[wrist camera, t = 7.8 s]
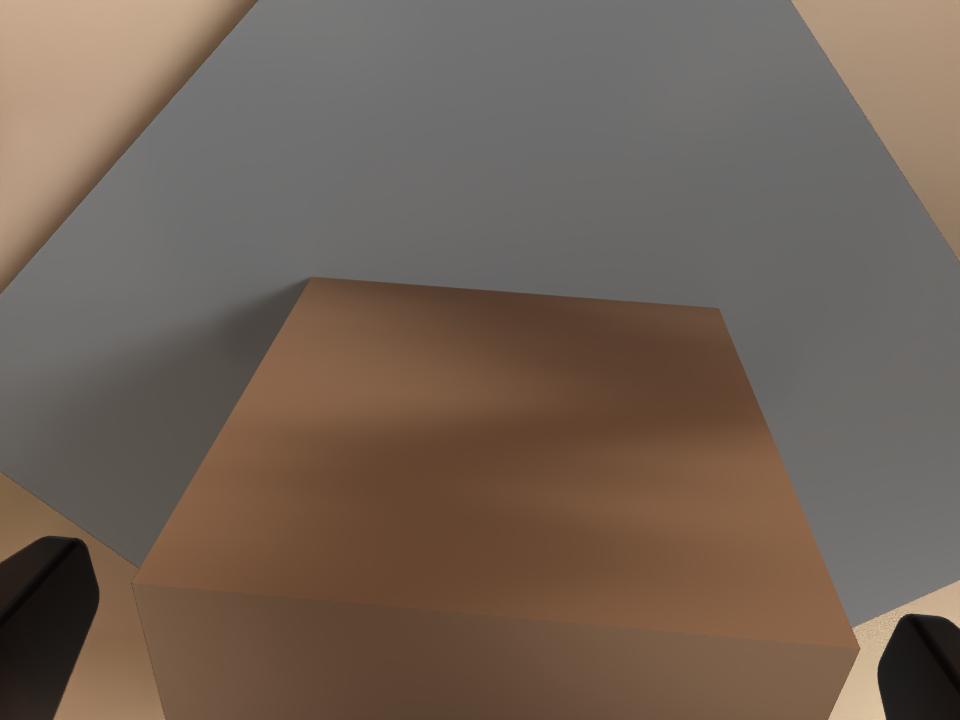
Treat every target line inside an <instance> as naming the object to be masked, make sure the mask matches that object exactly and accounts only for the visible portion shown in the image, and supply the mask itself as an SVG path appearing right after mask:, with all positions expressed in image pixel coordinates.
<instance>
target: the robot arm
mask: <svg viewBox="0 0 960 720" xmlns="http://www.w3.org/2000/svg"><path fill="white" fill-rule="evenodd" d="M98 604H99V587H98V583H97V580H96V576H95V573H94V569H93V566H92V562H91V558H90V555H89V551H88V548H87V546H86V544H85V543H84V542H83V541H82V540H81V539H78V538H69V537H58V536H46V537H43V538H40V539H38V540H36V541H35V542H33V543H31V544H30V545H28V546H27V547H25V548H23V549H22V550H20V551H18V552H17V553H15V554H14V555H12V556H10V557H9V558H7V559H6V560H4V561H2V562H1V563H0V720H54V717H55V715H56V712H57V710H58V707H59V705H60V702H61V700H62V697H63V695H64V692H65V689H66V687H67V684H68V682H69V679H70V677H71V674H72V672H73V669H74V667H75V664H76V662H77V659H78V657H79V654H80V652H81V649H82V647H83V644H84V642H85V639H86V637H87V634H88V632H89V629H90V627H91V624H92V622H93V619H94V616H95V614H96V611H97V608H98ZM877 676H878V685H879V690H880V694H881V699H882V703H883V708H884V712H885V717H886V720H960V628H958V627H957V626H956V625H955V624H954V623H952V622H951V621H950V620H948V619H946V618H943V617H940V616H931V615H920V614H906V615H905V616H903V617H902V618H901V619H900V620H899V622H898V624H897V626H896V628H895V630H894V632H893V634H892V636H891V638H890V640H889V642H888V644H887V646H886V648H885V650H884V652H883V655H882V657H881V659H880V661H879V665H878V673H877Z"/></svg>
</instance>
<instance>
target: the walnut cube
mask: <svg viewBox="0 0 960 720" xmlns="http://www.w3.org/2000/svg"><path fill="white" fill-rule="evenodd" d="M131 584H132V588H133V592H134V596H135V600H136V604H137V608H138V612H139V616H140V620H141V624H142V628H143V632H144V636H145V640H146V644H147V648H148V652H149V656H150V660H151V664H152V668H153V672H154V676H155V680H156V684H157V688H158V692H159V696H160V699H161V703H162V707H163V711H164V715H165V719H166V720H828V719H829V716H830V714H831V712H832V710H833V708H834V705H835V703H836V701H837V699H838V697H839V694H840V692H841V690H842V688H843V686H844V683H845V681H846V679H847V677H848V675H849V673H850V670H851V668H852V666H853V664H854V662H855V659H856V657H857V655H858V653H859V651H860V647H859V644H858V642H857V640H856V637H855V635H854V632H853V630H852V628H851V625H850V623H849V620H848V618H847V616H846V613H845V611H844V608H843V606H842V604H841V601H840V599H839V596H838V594H837V592H836V589H835V587H834V584H833V582H832V579H831V577H830V575H829V572H828V570H827V567H826V565H825V563H824V560H823V558H822V555H821V553H820V551H819V548H818V546H817V543H816V541H815V539H814V536H813V534H812V531H811V529H810V527H809V524H808V522H807V519H806V517H805V515H804V512H803V510H802V507H801V505H800V502H799V500H798V498H797V495H796V493H795V490H794V488H793V486H792V483H791V481H790V478H789V476H788V474H787V471H786V469H785V466H784V464H783V462H782V459H781V457H780V454H779V452H778V450H777V447H776V445H775V442H774V440H773V438H772V435H771V433H770V430H769V428H768V426H767V423H766V421H765V418H764V416H763V413H762V411H761V409H760V406H759V404H758V401H757V399H756V397H755V394H754V392H753V389H752V387H751V385H750V382H749V380H748V377H747V375H746V373H745V370H744V368H743V365H742V363H741V361H740V358H739V356H738V353H737V351H736V349H735V346H734V344H733V341H732V339H731V336H730V334H729V332H728V329H727V327H726V324H725V322H724V320H723V317H722V315H721V312H720V310H719V308H711V307H698V306H685V305H672V304H659V303H646V302H633V301H620V300H607V299H595V298H582V297H569V296H556V295H543V294H530V293H517V292H504V291H491V290H478V289H465V288H452V287H440V286H427V285H414V284H401V283H388V282H375V281H362V280H349V279H336V278H323V277H311V279H310V280H309V282H308V284H307V286H306V287H305V289H304V291H303V292H302V294H301V296H300V297H299V299H298V301H297V303H296V304H295V306H294V308H293V309H292V311H291V313H290V314H289V316H288V318H287V319H286V321H285V323H284V325H283V326H282V328H281V330H280V331H279V333H278V335H277V336H276V338H275V340H274V342H273V343H272V345H271V347H270V348H269V350H268V352H267V353H266V355H265V357H264V359H263V360H262V362H261V364H260V365H259V367H258V369H257V370H256V372H255V374H254V375H253V377H252V379H251V381H250V382H249V384H248V386H247V387H246V389H245V391H244V392H243V394H242V396H241V398H240V399H239V401H238V403H237V404H236V406H235V408H234V409H233V411H232V413H231V415H230V416H229V418H228V420H227V421H226V423H225V425H224V426H223V428H222V430H221V431H220V433H219V435H218V437H217V438H216V440H215V442H214V443H213V445H212V447H211V448H210V450H209V452H208V454H207V455H206V457H205V459H204V460H203V462H202V464H201V465H200V467H199V469H198V471H197V472H196V474H195V476H194V477H193V479H192V481H191V482H190V484H189V486H188V487H187V489H186V491H185V493H184V494H183V496H182V498H181V499H180V501H179V503H178V504H177V506H176V508H175V510H174V511H173V513H172V515H171V516H170V518H169V520H168V521H167V523H166V525H165V527H164V528H163V530H162V532H161V533H160V535H159V537H158V538H157V540H156V542H155V543H154V545H153V547H152V549H151V550H150V552H149V554H148V555H147V557H146V559H145V560H144V562H143V564H142V566H141V567H140V569H139V571H138V572H137V574H136V576H135V577H134V579H133V581H132V583H131Z"/></svg>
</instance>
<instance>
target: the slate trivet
mask: <svg viewBox="0 0 960 720" xmlns="http://www.w3.org/2000/svg"><path fill="white" fill-rule="evenodd" d="M311 277H323V278H336V279H349V280H362V281H375V282H388V283H401V284H414V285H427V286H440V287H452V288H465V289H478V290H491V291H504V292H517V293H530V294H543V295H556V296H569V297H582V298H595V299H607V300H620V301H633V302H646V303H659V304H672V305H685V306H698V307H711V308H719V310H720V312H721V315H722V317H723V320H724V322H725V324H726V327H727V329H728V332H729V334H730V336H731V339H732V341H733V344H734V346H735V349H736V351H737V353H738V356H739V358H740V361H741V363H742V365H743V368H744V370H745V373H746V375H747V377H748V380H749V382H750V385H751V387H752V389H753V392H754V394H755V397H756V399H757V401H758V404H759V406H760V409H761V411H762V413H763V416H764V418H765V421H766V423H767V426H768V428H769V430H770V433H771V435H772V438H773V440H774V442H775V445H776V447H777V450H778V452H779V454H780V457H781V459H782V462H783V464H784V466H785V469H786V471H787V474H788V476H789V478H790V481H791V483H792V486H793V488H794V490H795V493H796V495H797V498H798V500H799V502H800V505H801V507H802V510H803V512H804V515H805V517H806V519H807V522H808V524H809V527H810V529H811V531H812V534H813V536H814V539H815V541H816V543H817V546H818V548H819V551H820V553H821V555H822V558H823V560H824V563H825V565H826V567H827V570H828V572H829V575H830V577H831V579H832V582H833V584H834V587H835V589H836V592H837V594H838V596H839V599H840V601H841V604H842V606H843V608H844V611H845V613H846V616H847V618H848V620H849V623H850V625H851V628H853V627H855V626H857V625H859V624H862V623H864V622H866V621H868V620H871V619H873V618H875V617H877V616H880V615H882V614H884V613H886V612H889V611H891V610H893V609H895V608H898V607H900V606H902V605H904V604H907V603H909V602H911V601H913V600H915V599H918V598H920V597H922V596H924V595H927V594H929V593H931V592H933V591H936V590H938V589H940V588H942V587H945V586H947V585H949V584H951V583H954V582H956V581H958V580H960V262H959V260H958V259H957V257H956V256H955V254H954V253H953V251H952V249H951V248H950V246H949V245H948V243H947V242H946V240H945V239H944V237H943V236H942V234H941V232H940V231H939V229H938V228H937V226H936V225H935V223H934V222H933V220H932V219H931V217H930V215H929V214H928V212H927V211H926V209H925V208H924V206H923V205H922V203H921V201H920V200H919V198H918V197H917V195H916V194H915V192H914V191H913V189H912V188H911V186H910V184H909V183H908V181H907V180H906V178H905V177H904V175H903V174H902V172H901V171H900V169H899V167H898V166H897V164H896V163H895V161H894V160H893V158H892V157H891V155H890V153H889V152H888V150H887V149H886V147H885V146H884V144H883V143H882V141H881V140H880V138H879V136H878V135H877V133H876V132H875V130H874V129H873V127H872V126H871V124H870V123H869V121H868V119H867V118H866V116H865V115H864V113H863V112H862V110H861V109H860V107H859V105H858V104H857V102H856V101H855V99H854V98H853V96H852V95H851V93H850V92H849V90H848V88H847V87H846V85H845V84H844V82H843V81H842V79H841V78H840V76H839V75H838V73H837V71H836V70H835V68H834V67H833V65H832V64H831V62H830V61H829V59H828V58H827V56H826V54H825V53H824V51H823V50H822V48H821V47H820V45H819V44H818V42H817V40H816V39H815V37H814V36H813V34H812V33H811V31H810V30H809V28H808V27H807V25H806V23H805V22H804V20H803V19H802V17H801V16H800V14H799V13H798V11H797V10H796V8H795V6H794V5H793V3H792V2H791V0H258V1H257V2H256V4H255V5H254V6H253V7H252V8H251V9H250V10H249V12H248V13H247V14H246V15H245V16H244V17H243V18H242V20H241V21H240V22H239V23H238V24H237V25H236V26H235V27H234V29H233V30H232V31H231V32H230V33H229V34H228V35H227V37H226V38H225V39H224V40H223V41H222V42H221V43H220V45H219V46H218V47H217V48H216V49H215V50H214V51H213V53H212V54H211V55H210V56H209V57H208V58H207V59H206V61H205V62H204V63H203V64H202V65H201V66H200V67H199V68H198V70H197V71H196V72H195V73H194V74H193V75H192V76H191V78H190V79H189V80H188V81H187V82H186V83H185V84H184V86H183V87H182V88H181V89H180V90H179V91H178V92H177V94H176V95H175V96H174V97H173V98H172V99H171V100H170V102H169V103H168V104H167V105H166V106H165V107H164V108H163V109H162V111H161V112H160V113H159V114H158V115H157V116H156V117H155V119H154V120H153V121H152V122H151V123H150V124H149V125H148V127H147V128H146V129H145V130H144V131H143V132H142V133H141V135H140V136H139V137H138V138H137V139H136V140H135V141H134V143H133V144H132V145H131V146H130V147H129V148H128V149H127V150H126V152H125V153H124V154H123V155H122V156H121V157H120V158H119V160H118V161H117V162H116V163H115V164H114V165H113V166H112V168H111V169H110V170H109V171H108V172H107V173H106V174H105V176H104V177H103V178H102V179H101V180H100V181H99V182H98V184H97V185H96V186H95V187H94V188H93V189H92V190H91V192H90V193H89V194H88V195H87V196H86V197H85V198H84V199H83V201H82V202H81V203H80V204H79V205H78V206H77V207H76V209H75V210H74V211H73V212H72V213H71V214H70V215H69V217H68V218H67V219H66V220H65V221H64V222H63V223H62V225H61V226H60V227H59V228H58V229H57V230H56V231H55V233H54V234H53V235H52V236H51V237H50V238H49V239H48V240H47V242H46V243H45V244H44V245H43V246H42V247H41V248H40V250H39V251H38V252H37V253H36V254H35V255H34V256H33V258H32V259H31V260H30V261H29V262H28V263H27V264H26V266H25V267H24V268H23V269H22V270H21V271H20V272H19V274H18V275H17V276H16V277H15V278H14V279H13V280H12V281H11V283H10V284H9V285H8V286H7V287H6V288H5V289H4V291H3V292H2V293H1V294H0V472H2V473H3V474H4V475H6V476H7V477H9V478H10V479H12V480H13V481H14V482H16V483H17V484H19V485H20V486H22V487H23V488H24V489H26V490H27V491H29V492H30V493H32V494H33V495H34V496H36V497H37V498H39V499H40V500H42V501H43V502H44V503H46V504H47V505H49V506H50V507H52V508H53V509H55V510H56V511H57V512H59V513H60V514H62V515H63V516H65V517H66V518H67V519H69V520H70V521H72V522H73V523H75V524H76V525H77V526H79V527H80V528H82V529H83V530H85V531H86V532H87V533H89V534H90V535H92V536H93V537H95V538H96V539H97V540H99V541H100V542H102V543H103V544H105V545H106V546H107V547H109V548H110V549H112V550H113V551H115V552H116V553H117V554H119V555H120V556H122V557H123V558H125V559H126V560H128V561H129V562H130V563H132V564H133V565H135V566H136V567H138V568H139V569H140V567H141V566H142V564H143V562H144V560H145V559H146V557H147V555H148V554H149V552H150V550H151V549H152V547H153V545H154V543H155V542H156V540H157V538H158V537H159V535H160V533H161V532H162V530H163V528H164V527H165V525H166V523H167V521H168V520H169V518H170V516H171V515H172V513H173V511H174V510H175V508H176V506H177V504H178V503H179V501H180V499H181V498H182V496H183V494H184V493H185V491H186V489H187V487H188V486H189V484H190V482H191V481H192V479H193V477H194V476H195V474H196V472H197V471H198V469H199V467H200V465H201V464H202V462H203V460H204V459H205V457H206V455H207V454H208V452H209V450H210V448H211V447H212V445H213V443H214V442H215V440H216V438H217V437H218V435H219V433H220V431H221V430H222V428H223V426H224V425H225V423H226V421H227V420H228V418H229V416H230V415H231V413H232V411H233V409H234V408H235V406H236V404H237V403H238V401H239V399H240V398H241V396H242V394H243V392H244V391H245V389H246V387H247V386H248V384H249V382H250V381H251V379H252V377H253V375H254V374H255V372H256V370H257V369H258V367H259V365H260V364H261V362H262V360H263V359H264V357H265V355H266V353H267V352H268V350H269V348H270V347H271V345H272V343H273V342H274V340H275V338H276V336H277V335H278V333H279V331H280V330H281V328H282V326H283V325H284V323H285V321H286V319H287V318H288V316H289V314H290V313H291V311H292V309H293V308H294V306H295V304H296V303H297V301H298V299H299V297H300V296H301V294H302V292H303V291H304V289H305V287H306V286H307V284H308V282H309V280H310V279H311Z"/></svg>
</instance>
